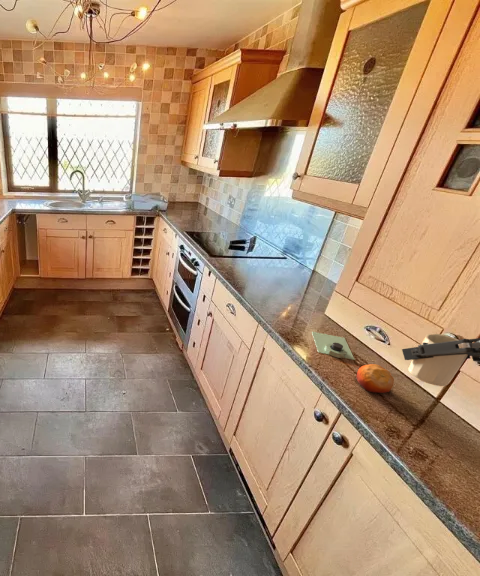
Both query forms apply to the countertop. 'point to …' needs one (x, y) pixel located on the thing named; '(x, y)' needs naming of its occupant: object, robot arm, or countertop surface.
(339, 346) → the tare button
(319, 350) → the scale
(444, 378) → the cup
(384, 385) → the fruit
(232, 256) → the countertop surface
